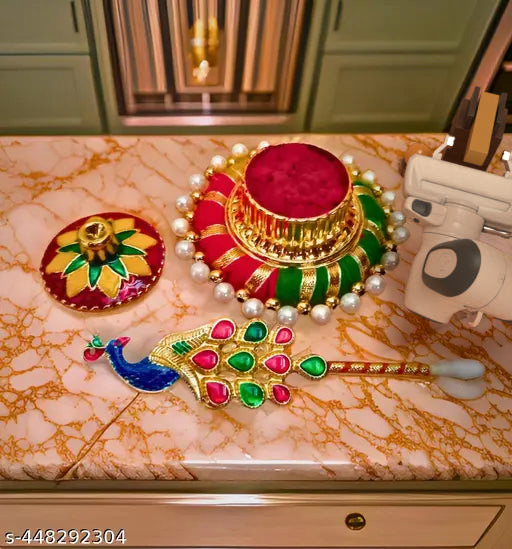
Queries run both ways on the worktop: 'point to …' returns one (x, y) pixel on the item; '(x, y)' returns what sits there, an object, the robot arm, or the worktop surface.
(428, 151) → the night lamp
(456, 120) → the switch pillar
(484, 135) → the pull rod
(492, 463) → the worktop surface
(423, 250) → the robot arm
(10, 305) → the worktop surface
